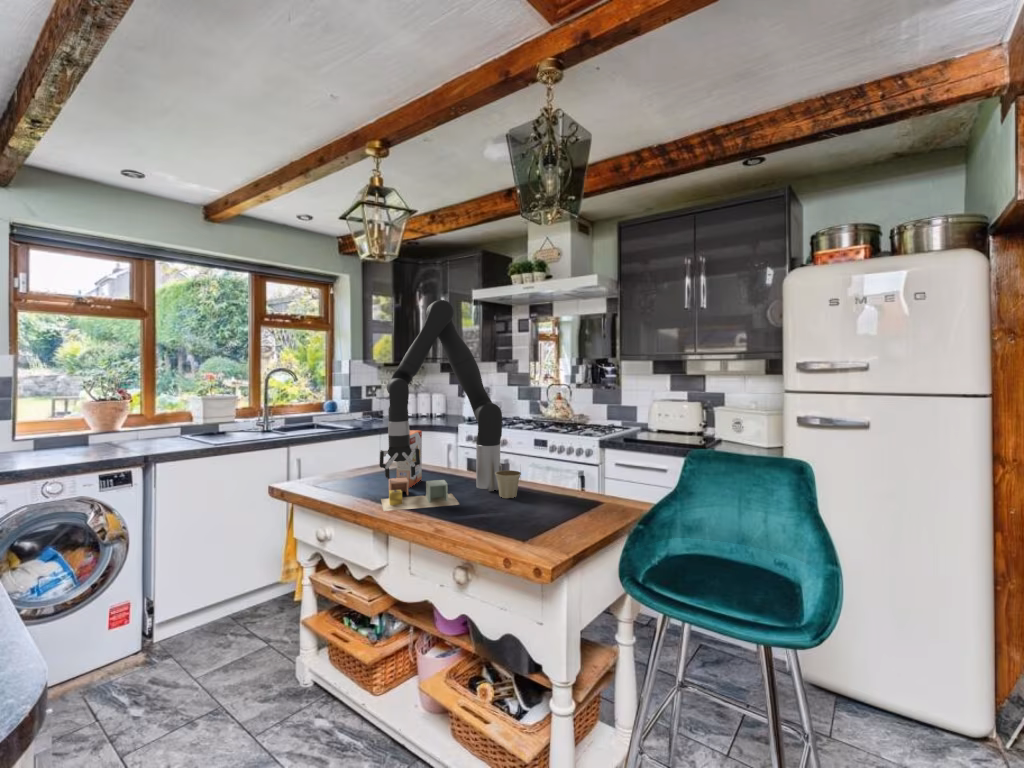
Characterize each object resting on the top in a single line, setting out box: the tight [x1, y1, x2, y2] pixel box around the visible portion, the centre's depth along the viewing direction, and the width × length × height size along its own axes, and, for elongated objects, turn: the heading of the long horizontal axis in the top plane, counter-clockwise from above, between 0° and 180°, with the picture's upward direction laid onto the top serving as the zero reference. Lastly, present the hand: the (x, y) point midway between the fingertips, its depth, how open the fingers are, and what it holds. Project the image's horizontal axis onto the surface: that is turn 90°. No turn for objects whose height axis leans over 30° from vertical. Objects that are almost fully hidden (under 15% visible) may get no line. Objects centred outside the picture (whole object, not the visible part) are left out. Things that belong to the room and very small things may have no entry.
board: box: [380, 493, 460, 512], centre depth 177 cm, size 25×15×1 cm, turn 107°
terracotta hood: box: [388, 477, 409, 496], centre depth 187 cm, size 6×6×6 cm
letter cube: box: [388, 489, 403, 505], centre depth 175 cm, size 4×4×4 cm
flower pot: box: [495, 469, 522, 499], centre depth 187 cm, size 9×9×9 cm
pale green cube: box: [425, 479, 449, 503], centre depth 179 cm, size 6×6×6 cm
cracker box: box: [396, 429, 423, 489], centre depth 205 cm, size 14×6×21 cm, turn 171°
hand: (400, 477), depth 188 cm, fingers open, 8 cm apart
